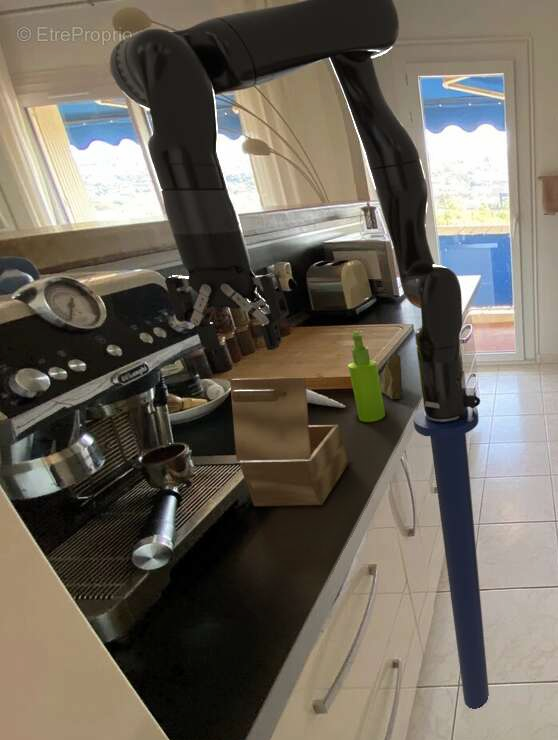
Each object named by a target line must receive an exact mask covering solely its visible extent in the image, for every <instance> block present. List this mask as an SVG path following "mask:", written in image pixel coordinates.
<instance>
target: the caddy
mask: <svg viewBox="0 0 558 740" xmlns="http://www.w3.org/2000/svg"><path fill="white" fill-rule="evenodd" d="M309 439H310V454H311V458H310V459H297V460H253V461H238V464H239V467H240V470H241V473H242V475H243V479H244V481H245V485H246V488H247V491H248V493H249V496H250V498H251V502H252V504H253V507H282V506H283V507H284V506H285V507H287V506H289V507H290V506H322V505H324V502H326V499H327V498H328V496H329V494H330V493H331V491H332V490H333V488H334V487H335V485H336V484H337V482H338V480H339V479H340V478H341V476H342V474H343V473H344V471H346V468H347V467H348V465H349V463H348V462H349V461H348V457H347V454H346V449H345V445H344V440H343V435H342V431H341V427H340V424H312V425H311V424H309Z"/></svg>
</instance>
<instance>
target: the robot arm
mask: <svg viewBox="0 0 558 740" xmlns="http://www.w3.org/2000/svg"><path fill="white" fill-rule="evenodd" d="M399 31H400V19H399V14H398V10H397V7H396V5H395V2H394V1H393V0H301V1H297V2H293V3H288V4H287V3H286V4H283V5H277V6H270V7H264V8H259V9H254V10H247V11H243V12H242V11H241V12H236V13H231V14H227V15H221V16H218V17H213V18H209V19H206V20H204V21H201V22H199V23H197V24H194V25H192V26H191V27H188V28H185V29H181V30H176V31H169V30H166V29H162V28H147V29H145V30H144V29H143V30H142V31H140V32H138V33H135V34H133V35H131V36H129V37H127V38H125V39H122V40H121V41H119V42H118V43H116V45H115V46H114V47H113V49H112V51H111V53H110V58H109V67H110V73H111V75H112V78H113V80H114V82H115V83H116V85H117V86H118V88H119V89H120V90H121V92H122V93H123V94H124V95H125V96H126V97H128V99H130V100H131V101H133V102H134V103H136V104H137V105H139V106H141V107H142V108H145V109H147V110H148V111H149V113H150V119H151V124H152V134H151V136H150V137H149V138H148V140H147V148H148V149H147V150H148V154H149V158H150V161H151V165H152V167H153V170H154V174H155V176H156V179H157V183H158V185H159V188H160V192H161V195H162V201H163V207H164V211H165V215H166V217H167V220H168V224H169V227H170V230H171V232H172V236H173V239H174V242H175V245H176V248H177V251H178V254H179V257H180V260H181V263H182V266H183V267H184V268H185V269H186V270H187V271H188V272H187V273H188V276H186V275H184V274H178V275H177V274H176V275H172V276H168V277H166V278H165V279H164V282H165V286H166V289H167V292H168V296H169V299H170V302H171V306H172V310H173V314H174V316H175V319H176V320H177V321H178V322H180V323H183V322H186V323H189V324H191V325H192V326H194V327H195V330H196V333H197V336H198V339H199V342H200V344H201V346H202V347H203V348H205V351H207V352H215V351H217V350H220V348H221V342H220V339H219V335H218V333H217V329H216V326H215V323H214V322H212V321H211V319H212V317H213V315H214V313H215V311H216V310H217V309H218V310H221V309H225V308H228V309H240V308H242V309H243V310H244V311H245V312H246V313H247V314H249V315H251V316H253V317H254V318H255V319H256V320H257V321H258V322H259V323H260V326H259V327H260V328H261V334H262V336H263V340H264V345H265V348H266V350H267V351H275V350H276V349H278V348H279V346H280V344H281V343H282V335H281V333H280V328H279V324H278V321H279V320H282V319H283V318H285V317H287V316H288V315H289V314H290V311H289V307H288V304H287V300H286V297H285V294H284V290H283V287H282V284H281V281H280V277H279V275H278V274H277V273H275V272H271V273H267V274H265V275H264V274H263V275H255V273H254V272H253V271H252V267H251V258H250V254H249V250H248V246H247V243H246V239H245V235H244V231H243V228H242V223H241V221H240V216H239V213H238V210H237V207H236V204H235V202H234V199H233V198H232V195H231V192H230V190H229V185H228V181H227V177H226V174H225V170H224V167H223V163H222V162H223V161H222V160H221V156H220V152H219V129H218V120H217V119H218V118H217V105H216V97H215V96H217V95H220V94H224V93H230V92H235V91H243V90H247V89H250V88H253V87H257V86H261V85H263V84H266V83H269V82H272V81H275V80H278V79H281V78H283V77H286V76H288V75H290V74H293V73H295V72H298V71H300V70H302V69H304V68H306V67H309V66H312V65H313V64H316V63H318V62H321V61H324V60H326V59H329V60H330V63H331V65H332V69H333V71H334V74H335V76H336V78H337V80H338V83H339V85H340V88H341V90H342V93H343V95H344V98H345V101H346V103H347V106H348V109H349V113H350V115H351V118H352V121H353V124H354V128H355V130H356V131H355V132H356V133H357V136H358V139H359V142H360V145H361V149H362V152H363V155H364V158H365V162H366V166H367V169H368V172H369V176H370V178H371V179H370V180H371V182H372V185H373V189H374V192H375V194H376V197H377V200H378V203H379V206H380V209H381V212H382V215H383V219H384V222H385V225H386V228H387V231H388V234H389V237H390V240H391V244H392V247H393V251H394V256H395V261H396V267H397V270H398V274H399V280H400V284H401V289H402V292H403V294H404V296H405V298H406V300H407V301H408V302H409V303H410V304H411V305H413V306H414V307H416V308H418V309H420V314H421V327H419V328H417V329H416V330H415V332H414V339H415V347H416V354H417V362H418V370H419V379H420V386H421V393H422V400H423V407H424V410H425V418H426V419H427V420H428V421H430V422H433V423H451V422H455V421H458V420H464V419H465V416H466V413H467V407H471V408H474V407H476V408H477V407H478V406H479V405H480V404H481V398H479V397H478V396H477V392H476V387H466V374H465V371H464V369H463V359H462V350H461V349H462V347H461V331H462V328H463V300H462V299H463V298H462V297H463V296H462V289H461V284H460V281H459V278H458V276H457V275H456V273H455V272H454V271H453V270H452V269H450V268H448V267H445V266H442V265H437V264H435V261H434V259H433V256H432V253H431V249H430V248H431V247H430V245H429V242H428V238H427V228H426V225H427V224H426V223H427V213H428V186H427V181H426V177H425V176H426V175H425V173H424V169H423V165H422V160H421V156H420V154H419V150H418V147H417V146H416V144H415V142H414V140H413V139H412V136H411V135H410V134H409V133H408V131H407V130H406V128H405V126H404V125H403V124H402V123H401V121H400V120H399V119H398V117H397V115H396V114H395V112H394V111H393V110H392V108H390V106H389V104H388V102H387V101H386V98H385V96H384V94H383V91H382V88H381V86H380V83H379V80H378V76H377V73H376V69H375V66H374V65H375V64H374V60H373V58H376V57H378V56H379V57H380V56H382V55H383V54H386V53H387V52H388V51H389V50H391V49H392V48H393V46H394V45H395V44H396V42H397V39H398V38H399ZM257 287H259V290H260V291H262V292H263V294H264V296H265V299H266V300H265V299H264V298H263V297H262V296H261V295H260V294H259V293H258V292H256V289H257ZM192 289H193V291H194V292H195V293H197V295H198V297H197V299H196V300H195V303H194V299H193V296H192Z"/></svg>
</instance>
